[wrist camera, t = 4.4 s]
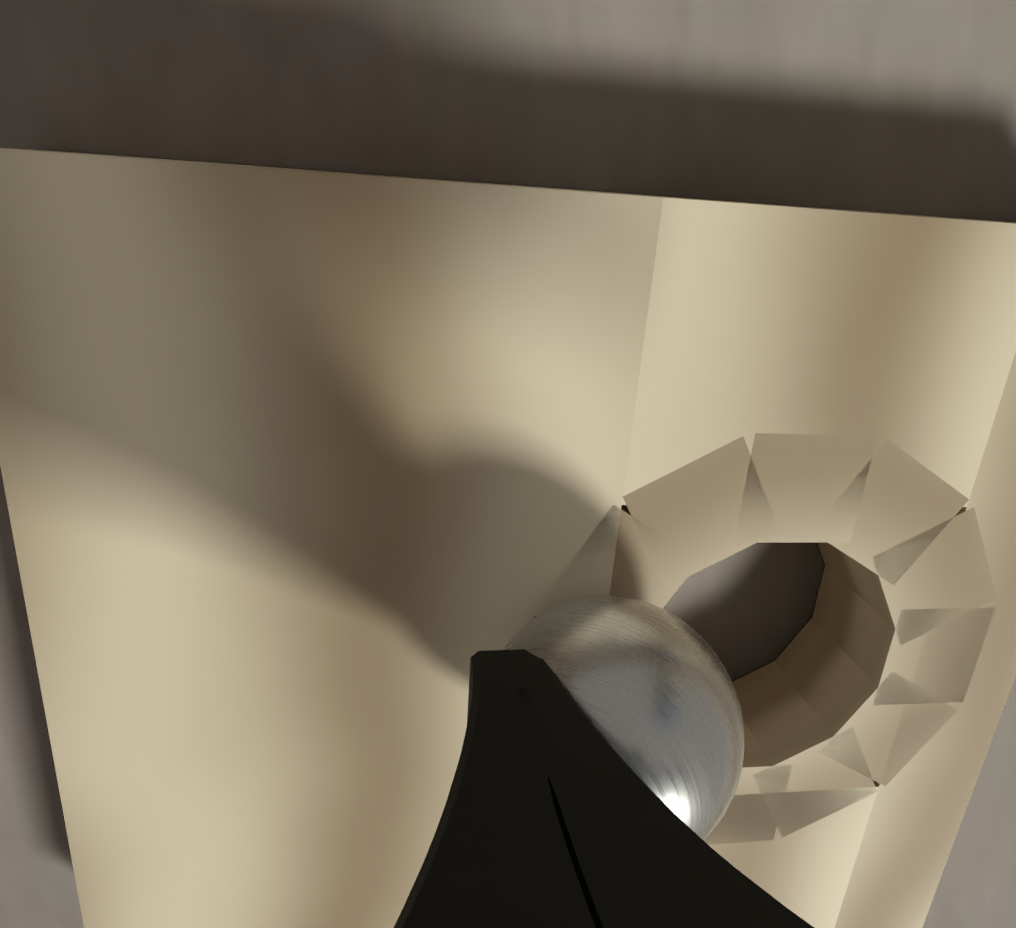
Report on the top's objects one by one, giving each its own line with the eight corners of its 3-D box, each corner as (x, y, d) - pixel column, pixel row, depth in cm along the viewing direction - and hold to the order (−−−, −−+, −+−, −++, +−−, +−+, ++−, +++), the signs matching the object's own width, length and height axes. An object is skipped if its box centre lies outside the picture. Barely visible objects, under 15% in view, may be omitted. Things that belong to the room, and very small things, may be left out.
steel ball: (692, 992, 10) (763, 778, 13) (702, 759, 8) (780, 579, 11) (441, 869, 12) (555, 709, 15) (411, 661, 10) (546, 530, 13)
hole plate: (139, 903, 17) (100, 1017, 15) (32, 149, 12) (-57, 144, 9) (857, 851, 20) (917, 940, 18) (1053, 225, 14) (1179, 235, 12)
